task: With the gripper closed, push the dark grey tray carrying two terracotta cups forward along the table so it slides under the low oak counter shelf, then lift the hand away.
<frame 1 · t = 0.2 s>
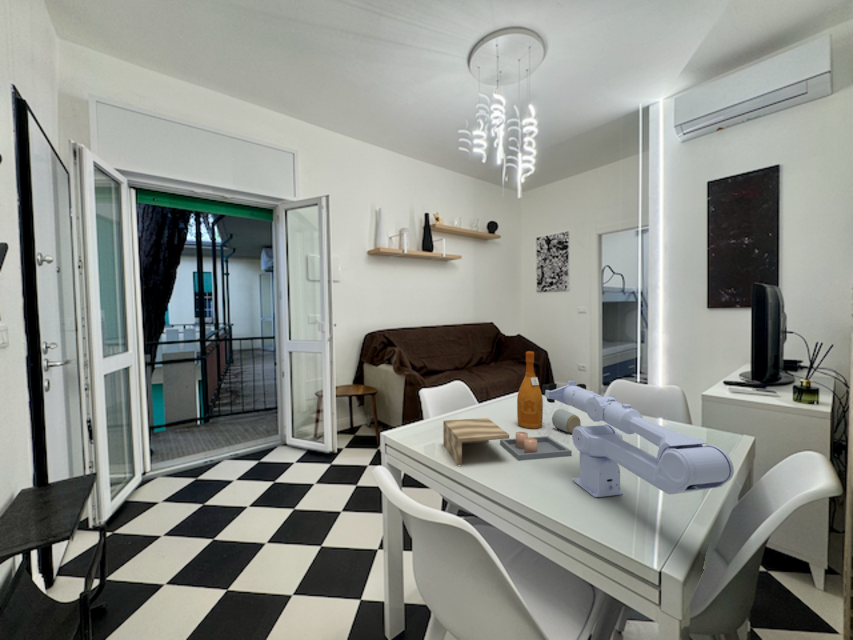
hand: (554, 388, 111), 22 cm above the table, tool horizontal, fingers open, 7 cm apart
ceramic mug: (568, 430, 137), on the table
counter: (474, 452, 115), on the table
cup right: (521, 447, 120), resting on tray
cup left: (530, 453, 113), resting on tray
tray: (534, 452, 117), on the table, touching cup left, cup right
wine bottle: (529, 426, 143), on the table
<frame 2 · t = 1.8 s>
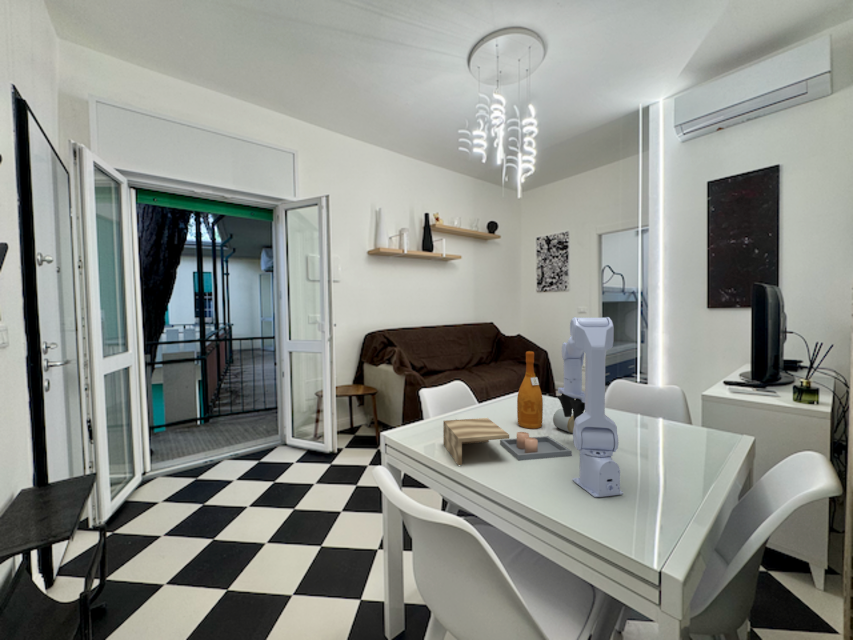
hand: (572, 419, 120), 9 cm above the table, tool pointing down, fingers open, 5 cm apart
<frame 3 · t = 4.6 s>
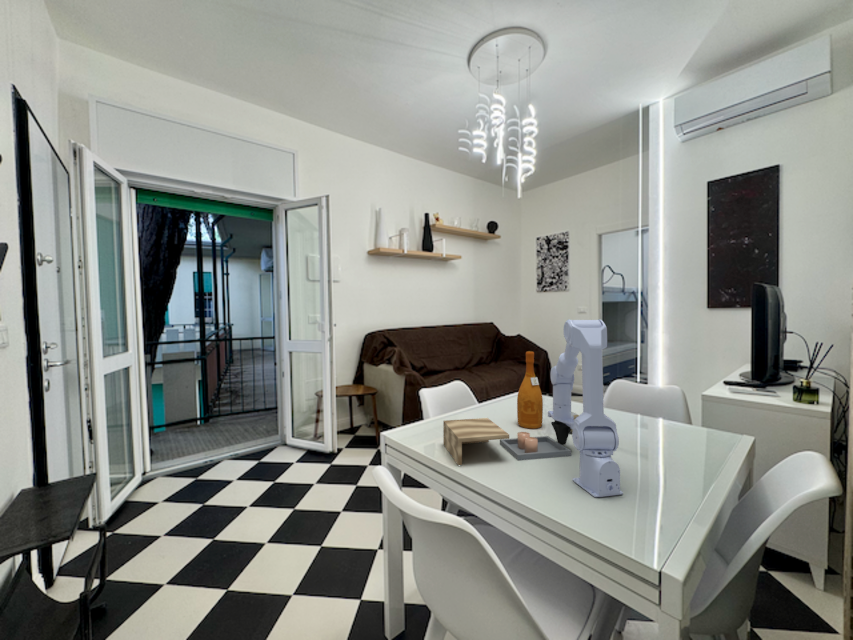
hand: (561, 444, 119), 1 cm above the table, tool pointing down, fingers closed, pressing on tray
tray: (533, 452, 117), on the table, touching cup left, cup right, gripper
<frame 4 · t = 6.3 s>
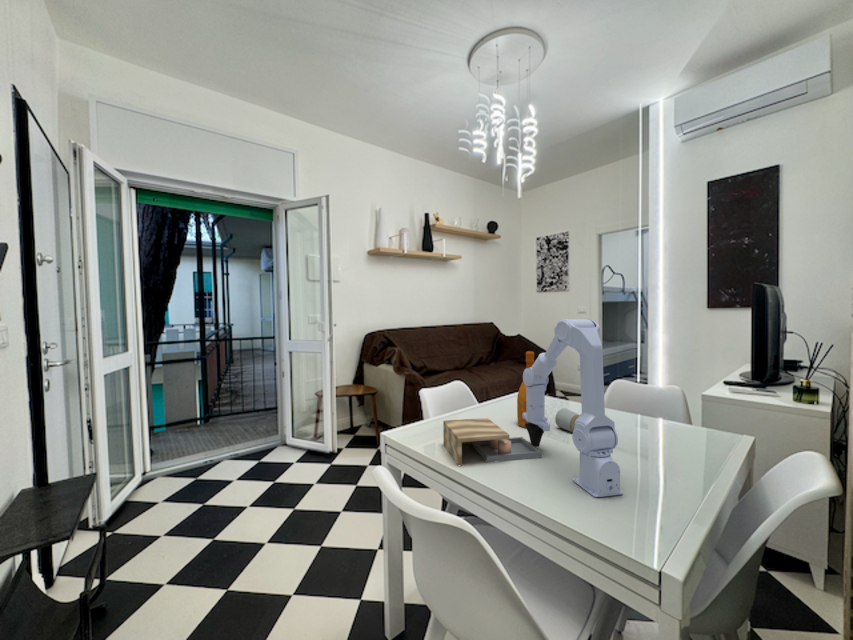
hand: (535, 446, 117), 1 cm above the table, tool pointing down, fingers closed
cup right: (495, 447, 119), resting on tray
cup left: (504, 455, 112), resting on tray
tray: (505, 453, 116), on the table, touching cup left
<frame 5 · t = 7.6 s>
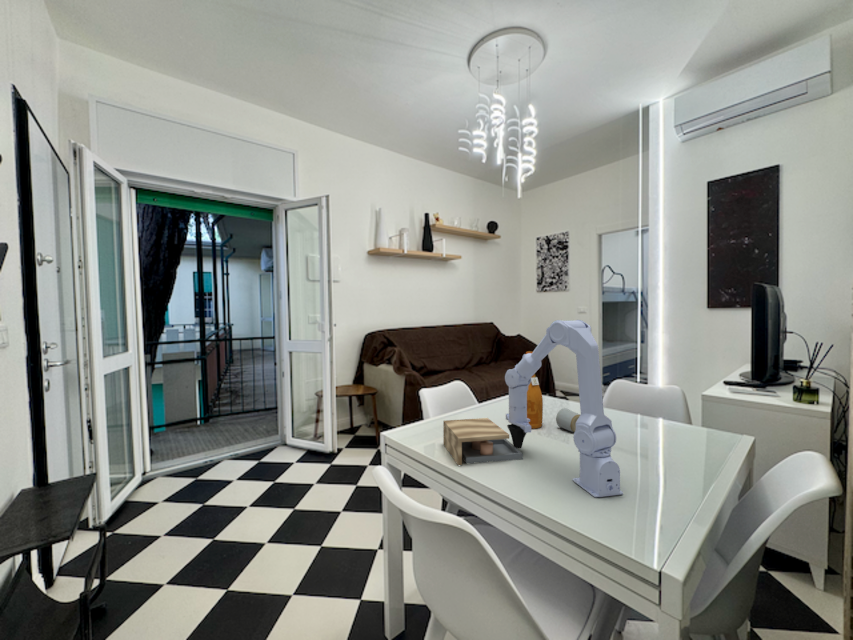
hand: (517, 447, 116), 1 cm above the table, tool pointing down, fingers closed
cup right: (477, 447, 118), resting on tray
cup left: (486, 457, 111), resting on tray
tray: (487, 454, 115), on the table, touching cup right
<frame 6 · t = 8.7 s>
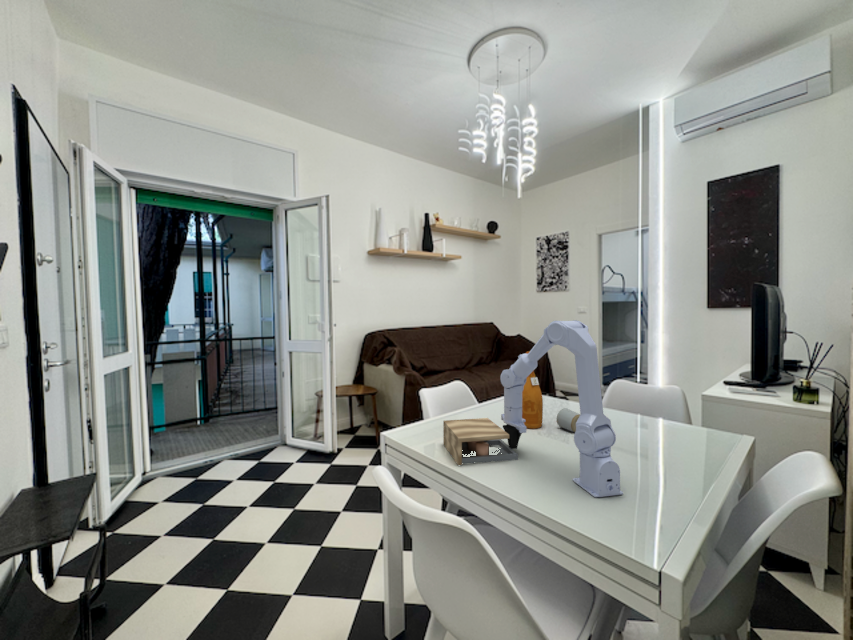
hand: (513, 448, 116), 1 cm above the table, tool pointing down, fingers closed
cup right: (473, 448, 118), resting on tray
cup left: (482, 458, 110), resting on tray
tray: (482, 455, 114), on the table, touching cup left, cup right
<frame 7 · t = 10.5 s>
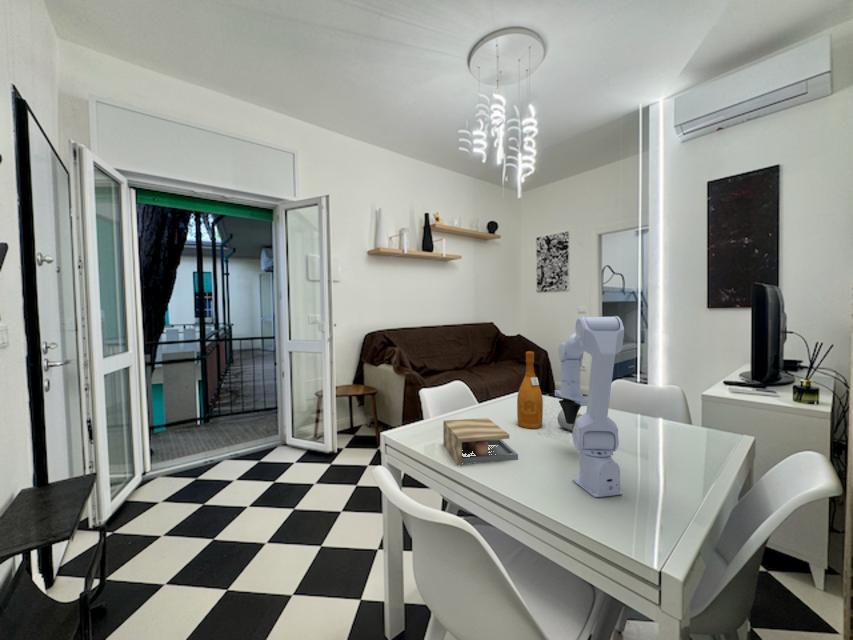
hand: (570, 423, 113), 10 cm above the table, tool pointing down, fingers closed
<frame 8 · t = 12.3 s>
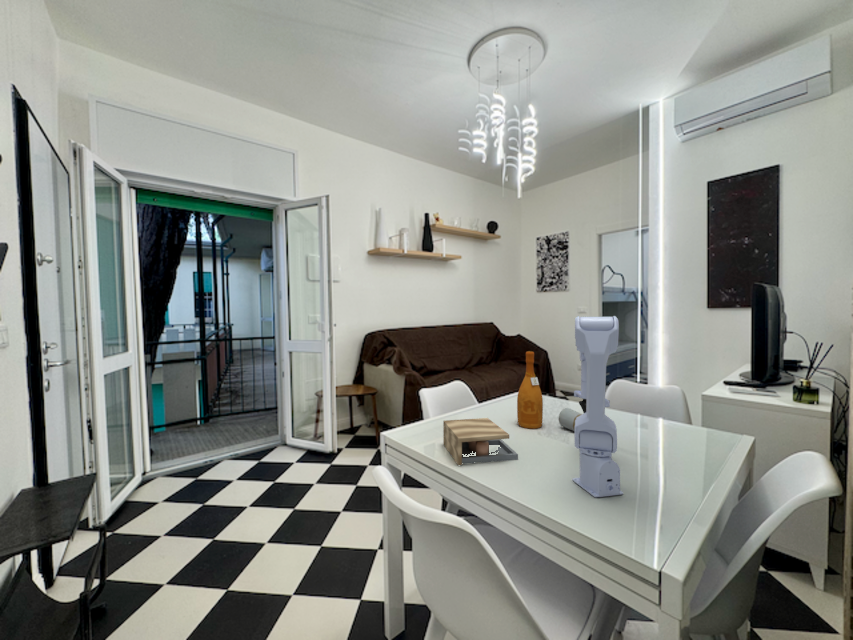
hand: (590, 424, 112), 10 cm above the table, tool pointing down, fingers closed
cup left: (482, 456, 111), resting on tray
tray: (482, 455, 114), on the table, touching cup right
at the end: tray inside the target area (1.1 cm from its centre), on the table; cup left 3.4 cm from the tray (horizontally); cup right 3.5 cm from the tray (horizontally) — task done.
